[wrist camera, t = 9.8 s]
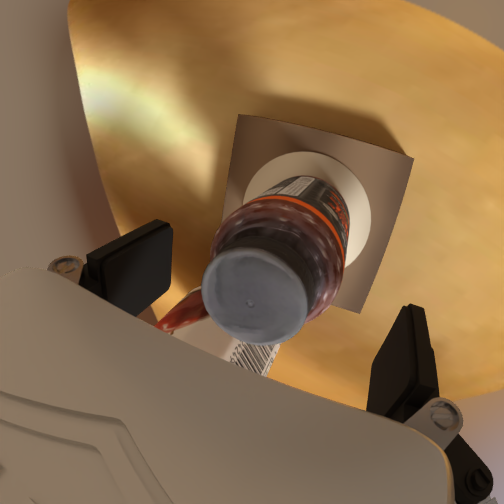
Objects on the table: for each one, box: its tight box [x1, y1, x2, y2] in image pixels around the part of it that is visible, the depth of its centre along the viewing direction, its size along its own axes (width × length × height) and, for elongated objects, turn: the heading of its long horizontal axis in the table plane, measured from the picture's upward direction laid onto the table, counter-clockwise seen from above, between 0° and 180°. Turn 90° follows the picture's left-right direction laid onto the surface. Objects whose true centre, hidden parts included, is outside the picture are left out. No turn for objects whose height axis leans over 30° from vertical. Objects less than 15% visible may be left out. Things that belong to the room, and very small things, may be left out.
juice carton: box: [154, 286, 281, 377], centre depth 20 cm, size 8×9×19 cm
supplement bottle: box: [201, 175, 350, 346], centre depth 15 cm, size 6×6×11 cm
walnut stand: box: [221, 114, 414, 314], centre depth 22 cm, size 12×12×3 cm
